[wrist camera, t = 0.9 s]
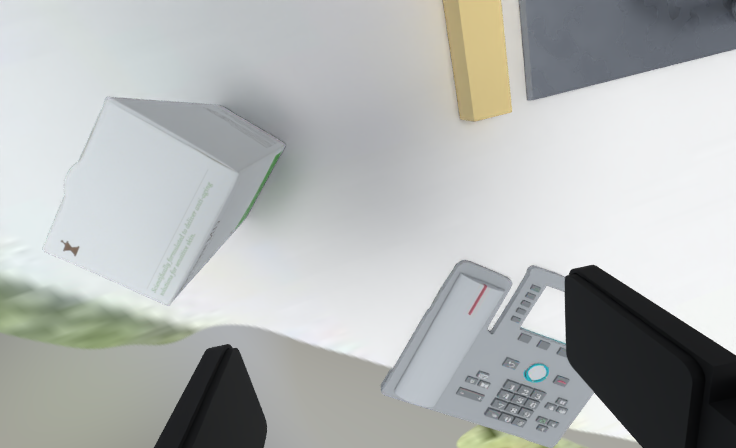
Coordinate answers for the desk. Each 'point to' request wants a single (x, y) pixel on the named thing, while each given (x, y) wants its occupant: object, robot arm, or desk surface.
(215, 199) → the skincare box
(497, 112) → the link
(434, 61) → the desk surface
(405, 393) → the office telephone
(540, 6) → the pintle plate
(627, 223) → the desk surface
